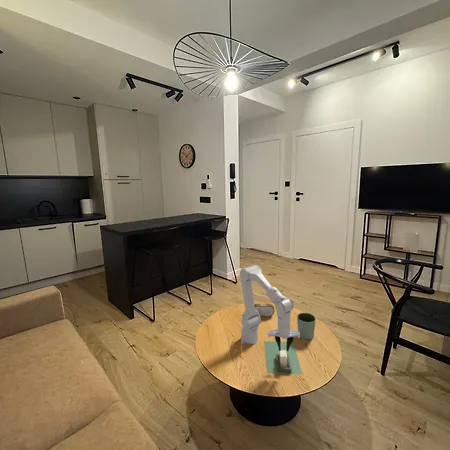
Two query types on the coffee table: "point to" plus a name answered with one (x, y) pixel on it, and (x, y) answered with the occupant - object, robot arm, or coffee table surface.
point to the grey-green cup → (306, 325)
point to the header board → (273, 358)
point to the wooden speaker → (264, 309)
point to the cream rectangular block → (283, 358)
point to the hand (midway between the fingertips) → (283, 349)
